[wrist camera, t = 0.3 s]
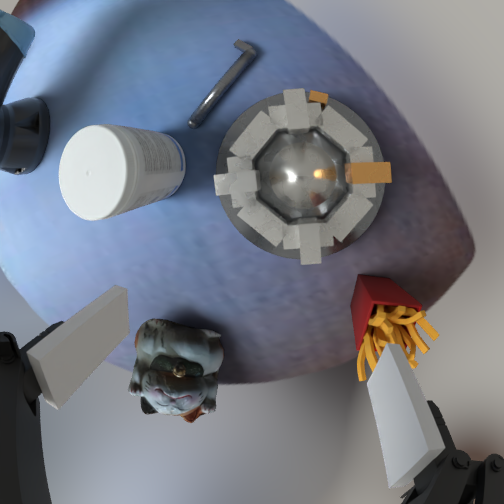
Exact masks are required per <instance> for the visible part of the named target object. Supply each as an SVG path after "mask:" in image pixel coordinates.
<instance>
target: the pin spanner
mask: <svg viewBox="0 0 504 504" xmlns="http://www.w3.org/2000/svg"><path fill="white" fill-rule="evenodd" d="M234 46H235V48H237V49H239V50H240V51H242V52H244V53H243V54H242V55H241V56H240V57H239V58H238V59H237V60H236V62H235V63H234V64H233V65H232V66H231V67H230V68H229V70H228V71H227V72H226V73H225V74H224V75H223V77H222V78H221V79H220V80H219V81H218V82H217V84H216V85H215V86H214V87H213V89H212V90H211V91H210V92H209V94H208V95H207V96H206V97H205V99H204V100H203V101H202V102H201V104H200V105H199V106H198V108H197V109H196V110H195V111H194V113H193V114H192V115H191V117H190V118H189V120H188V122H187V124H188V126H189V127H190V128H192V129H194V128H197V127H198V126H199V125H200V123H201V122H202V121H203V119H204V118H205V117H206V115H207V114H208V113H209V112H210V110H211V109H212V108H213V106H214V105H215V104H216V103H217V101H218V100H219V99H220V98H221V96H222V95H223V94H224V93H225V92H226V90H227V89H228V88H229V87H230V86H231V84H232V83H233V82H234V81H235V80H236V79H237V77H238V76H239V75H240V74H241V73H242V72H243V70H244V69H245V68H246V67H247V66H248V65H249V64H250V63H251V62H252V60H253V59H254V58H255V57H256V56H257V51H256V50H255V49H253V47H252V46H250V45H248V44H246V43H245V42H243V41H241V40H239V39H238V40H237V41H236V42H235V43H234Z"/></svg>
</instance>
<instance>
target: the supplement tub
mask: <svg viewBox="0 0 504 504" xmlns="http://www.w3.org/2000/svg"><path fill="white" fill-rule="evenodd" d="M185 167H186V164H185V156H184V153H183V150H182V148H181V146H180V145H179V143H178V142H177V141H176V140H175V139H174V138H172V137H171V136H169V135H167V134H164V133H160V132H155V131H149V130H144V129H138V128H131V127H125V126H118V125H110V124H103V125H91V126H87V127H85V128H83V129H81V130H79V131H78V132H77V133H76V134H75V135H73V137H72V138H71V139H70V140H69V142H68V143H67V145H66V147H65V149H64V151H63V154H62V157H61V161H60V166H59V183H60V189H61V192H62V195H63V198H64V200H65V202H66V204H67V205H68V207H69V208H70V209H71V210H72V212H73V213H75V214H76V215H77V216H79V217H81V218H83V219H85V220H91V221H95V220H100V219H107V218H110V217H113V216H116V215H119V214H122V213H125V212H128V211H130V210H133V209H136V208H139V207H142V206H145V205H148V204H151V203H154V202H157V201H160V200H163V199H166V198H168V197H169V196H171V195H172V194H173V193H174V192H175V191H176V190H177V189H178V188H179V186H180V185H181V183H182V181H183V178H184V175H185Z"/></svg>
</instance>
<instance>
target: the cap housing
mask: <svg viewBox="0 0 504 504" xmlns="http://www.w3.org/2000/svg"><path fill="white" fill-rule="evenodd" d="M305 97H306V103H319V102H320V104H321V111H322V112H323V111H324V109H325V108H326V107H327V106H328V105H329V106H330V107H331V108H333V109H334V110H335V111H336V112H337V113H339V114H340V115H341V116H342V117H344V118H345V119H346V120H347V121H348V122H349V123H351V124H352V125H353V126H354V127H355V128H356V129H357V130H359V131H360V132H361V133H362V134H363V135H364V136H365V137H366V138H367V139H368V140H367V141H366V142H365V143H364V145H363V146H362V147H372V151H373V162H384V160H383V157H382V153H381V149H380V147H379V145H378V142H377V140H376V138H375V137H374V135H373V133H372V131H371V130H370V128H369V127H368V126H367V125H366V123H365V122H364V121H363V120H362V119H361V118H360V117H359V116H358V115H357V114H356V113H355V112H354V111H352V110H351V109H350V108H348V107H347V106H345V105H344V104H342V103H340V102H338V101H337V100H334V99H332V98H329V97H328V94H325V93H321V92H317V91H312V90H311V92H310V93H309V92H305ZM278 105H285V102H284V95H283V93H282V94H278V95H274V96H271V97H268V98H266V99H264V100H261V101H259V102H258V103H256V104H254V105H253V106H251V107H250V108H248V109H247V110H246V111H245V112H244V113H242V114H241V115H240V116H239V117H238V118H237V120H236V121H235V122H234V123H233V124H232V126H231V127H230V129H229V130H228V132H227V134H226V135H225V137H224V139H223V141H222V144H221V147H220V150H219V154H218V158H217V165H216V175H219V174H227V173H228V165H227V158H229V157H236V155H235V154H234V153H232V152H231V151H230V150H229V149H230V148H231V147H232V145H233V144H234V143H235V142H236V140H237V139H238V138H239V137H240V135H241V134H242V133H243V132H244V130H245V129H246V128H247V127H248V125H249V124H250V123H251V122H252V121H253V119H254V118H255V117H256V116H257V115H258V113H259V112H260V111H262V112H264V113H265V114H267V115H268V116H269V108H268V107H269V106H278ZM269 117H270V116H269ZM254 162H255V170H259V173H260V182H261V189H260V190H258V196H259V198H260V199H261V200H262V201H263V202H265V203H266V204H267V205H268V206H269V207H271V208H272V209H273V210H274V211H276V212H277V213H278V214H279V215H280V216H282V217H283V218H284V219H285V220H286V221H298V219H297V218H310V217H316V218H317V219H325V218H326V216H327V215H328V214H329V213H330V212H331V211H332V210H333V208H334V207H335V206H336V205H337V204H338V203H339V201H340V200H341V199H342V198H343V197H344V196H345V194H346V193H347V192H348V183H347V182H346V177H345V166H344V164H345V163H346V157H345V153H344V152H343V151H341V150H340V149H339V148H338V147H337V146H336V145H334V144H333V143H332V142H331V141H330V140H329V139H327V138H326V137H325V136H324V135H322V134H321V133H320V132H319V131H318V130H316V129H310V130H309V131H308V133H298V134H289V132H288V131H284V132H278V133H277V134H276V135H275V136H274V138H273V139H272V140H271V141H270V142H269V144H268V145H267V146H266V147H265V149H264V150H263V151H262V152H261V153H260V155H259V156H258V157H257V158H256V160H255V161H254ZM375 188H376V197H371V198H367V199H368V200H369V201H370V202H371V203H372V204H373V206H372V207H371V208H370V210H369V211H368V212H367V213H366V214H365V215H364V217H363V218H362V219H361V220H360V221H359V222H358V223H357V225H356V226H355V227H354V228H353V229H352V230H351V231H350V233H349V234H348V235H347V236H346V237H345V238H344V239H343V240H342V241H341V242H340V241H339V240H338V239H337V238H336V237H334V236H333V243H334V246H324V247H321V257H324V256H328V255H331V254H333V253H336V252H338V251H340V250H342V249H344V248H345V247H347V246H349V245H350V244H352V243H353V242H354V241H356V240H357V239H358V238H359V237H360V236H361V235H362V234H363V233H364V232H365V231H366V230H367V228H368V227H369V226H370V224H371V223H372V221H373V220H374V218H375V216H376V214H377V212H378V210H379V208H380V205H381V202H382V198H383V194H384V188H385V183H375ZM219 197H220V200H221V203H222V206H223V208H224V210H225V212H226V214H227V216H228V218H229V219H230V221H231V222H232V224H233V225H234V226H235V227H236V229H237V230H238V231H239V232H240V233H241V234H242V235H243V236H244V237H245V238H246V239H247V240H249V241H250V242H252V243H253V244H254V245H256V246H257V247H259V248H261V249H263V250H265V251H267V252H269V253H272V254H274V255H277V256H281V257H285V258H292V259H301V258H300V248H297V249H284V245H283V240H282V241H281V242H280V243H279V244H278V245H277V246H274V245H273V244H272V243H271V242H269V241H268V240H267V239H266V238H265V237H263V236H262V235H261V234H260V233H258V232H257V231H256V230H255V229H254V228H252V227H251V226H250V225H249V224H247V223H246V222H245V221H244V220H242V219H241V218H240V217H239V216H237V214H238V213H239V212H240V210H241V209H242V208H243V207H237V208H233V205H232V197H231V194H226V195H219Z"/></svg>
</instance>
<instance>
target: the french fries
mask: <svg viewBox="0 0 504 504" xmlns="http://www.w3.org/2000/svg"><path fill="white" fill-rule="evenodd" d="M350 307H351V313H352V320H353V327H354V334H355V342H356V350H360V351H359V355H358V361H357V369H358V376H359V381H364V380H366V374H365V368H364V361H365V356H366V358H367V360H368V363H369V365H370V367H371V369H372V372H373V371H374V369H375V367H376V365H377V363H378V359H377V357H376V355H375V351H378V354H379V355H380V356H381V354H382V352H383V350H384V348H385V346H386V343H392V344H400V346H401V348H402V350H403V352H404V354H405V356H406V358H407V360H408V362H409V364H410V366H411V368H416V367H417V365H418V363H417V362H416V361H415V360H414V358H415V351H416V345H417V346H418V348H419V349H420V350H421V351H422V353H423V354H425V353H426V352H427V351H428V350H429V349H430V348H429V347H428V346H427V345H426V343H425V342H424V341H423V340H422V338H421V337H420V336H419V334H418V332H417V330H416V328H415V324H416V322H417V323H418V324H419V325H420V326H421V328H422V329H423V330H424V331H425V332H426V333H427V334H428V335H429V336H430V337H431V338H432V340H433V341H435V340H436V338H437V337H438V336H439V334H438V333H437V332H436V330H435V329H434V328H433V327H432V326H431V325H430V324H429V323H428V322H427V321H426V320H425V319H424V318H423V317H424V316H426V313H425V310H424V311H420V310H421V307H422V304H420V303H419V302H418V301H417V300H416V299H414V298H413V297H412V296H411V295H409V294H408V293H407V292H406V291H405V290H403V289H402V288H401V287H400V286H398V285H397V284H396V283H395V282H393V281H392V280H391V279H390V278H383V277H375V276H367V275H359V274H358V277H357V281H356V285H355V289H354V294H353V298H352V302H351V305H350ZM411 337H412V338H411ZM407 345H408V346H409V348H410V350H411V351H410V354H408V353H407V351H406V347H407Z"/></svg>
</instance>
